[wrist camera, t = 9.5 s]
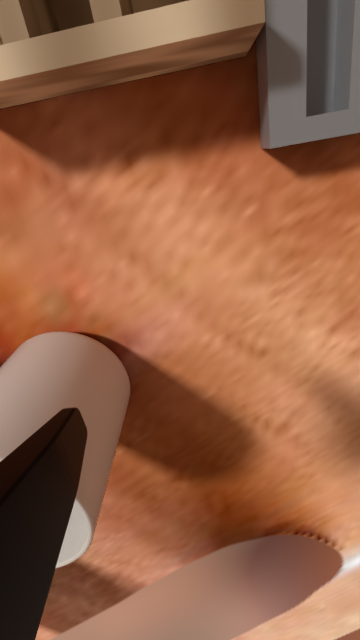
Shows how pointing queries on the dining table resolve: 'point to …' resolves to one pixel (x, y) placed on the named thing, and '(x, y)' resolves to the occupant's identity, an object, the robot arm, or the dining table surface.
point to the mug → (65, 392)
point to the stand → (308, 71)
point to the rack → (115, 41)
